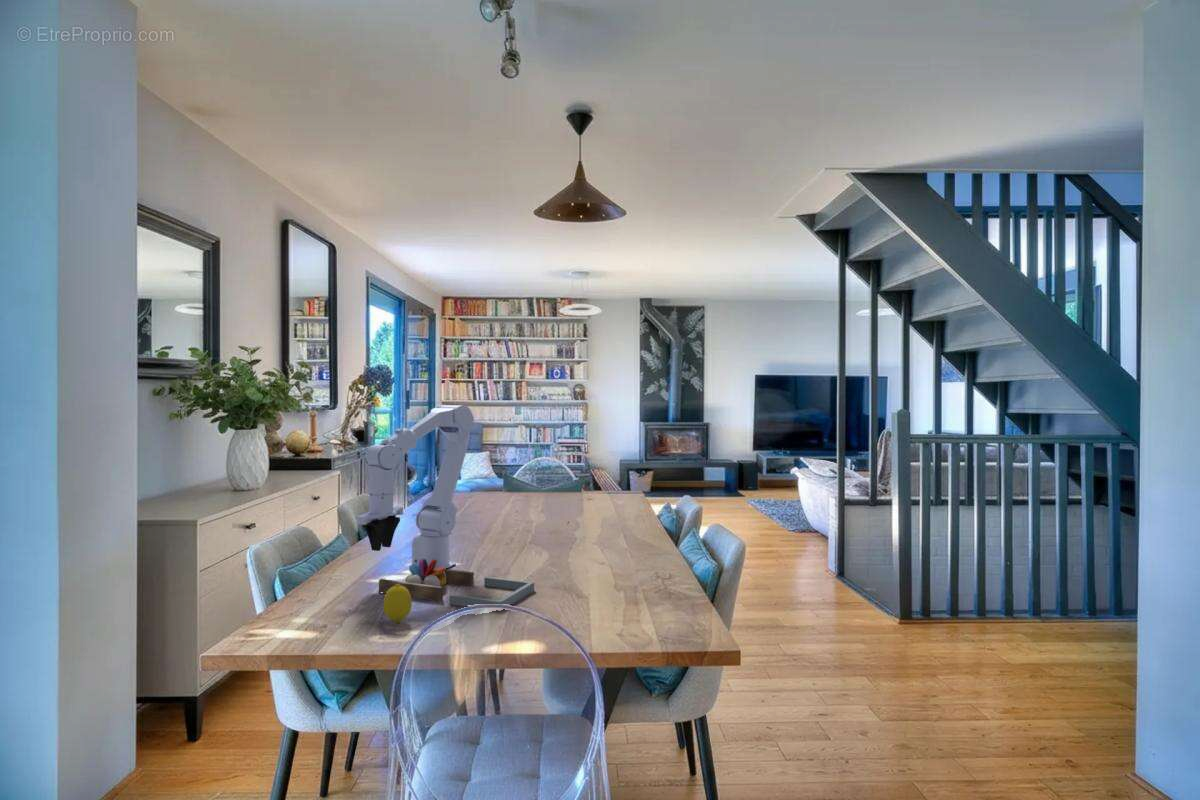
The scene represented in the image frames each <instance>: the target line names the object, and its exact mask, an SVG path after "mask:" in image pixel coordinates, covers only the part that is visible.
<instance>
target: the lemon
mask: <svg viewBox="0 0 1200 800" xmlns="http://www.w3.org/2000/svg"><path fill="white" fill-rule="evenodd" d="M412 602H413V601H412V597H411V595H410V593H409V591H408V589H407V588H405V587H404V586H401V585H399V584H396V585H395V586H393V587H391V588H390V589H389V590H388V591H387V592H386V594H384V598H383V602H382V606H383V612H384V615H385V617H387V619H389V620H390V621H393V622H394V623H395V624H399V623H401V621H403V620H405V619H406V618H407V617H408V615H409V614H410V613H411V609H412V605H413V603H412Z"/></svg>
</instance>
